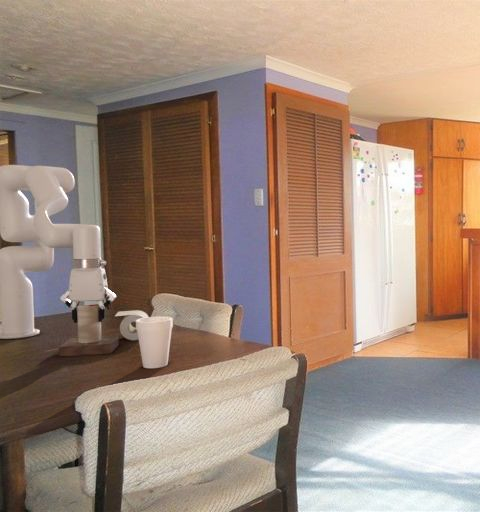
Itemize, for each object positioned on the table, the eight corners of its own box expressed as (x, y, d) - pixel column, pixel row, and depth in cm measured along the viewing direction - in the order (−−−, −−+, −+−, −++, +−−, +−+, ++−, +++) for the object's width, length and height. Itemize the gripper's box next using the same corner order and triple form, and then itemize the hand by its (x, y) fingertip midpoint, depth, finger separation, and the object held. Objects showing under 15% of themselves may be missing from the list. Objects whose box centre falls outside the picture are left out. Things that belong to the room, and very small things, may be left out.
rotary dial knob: (80, 344, 160) (79, 307, 160) (75, 340, 165) (74, 304, 164) (103, 341, 164) (102, 305, 164) (98, 337, 169) (97, 302, 169)
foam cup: (144, 361, 152) (143, 316, 152) (177, 360, 153) (176, 316, 152) (131, 370, 143) (130, 322, 142) (166, 369, 144) (165, 322, 143)
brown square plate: (58, 356, 157) (58, 346, 157) (70, 347, 169) (70, 337, 169) (110, 353, 161) (110, 343, 161) (118, 344, 173) (118, 335, 172)
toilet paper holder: (118, 310, 187) (164, 308, 192) (119, 334, 188) (164, 332, 193) (114, 316, 176) (162, 313, 181) (114, 342, 176) (163, 339, 181)
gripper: (121, 263, 169) (122, 318, 170) (61, 264, 165) (63, 320, 166) (114, 265, 161) (115, 322, 163) (51, 265, 158) (53, 324, 159)
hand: (89, 321), depth 164 cm, fingers closed on rotary dial knob, 6 cm apart
